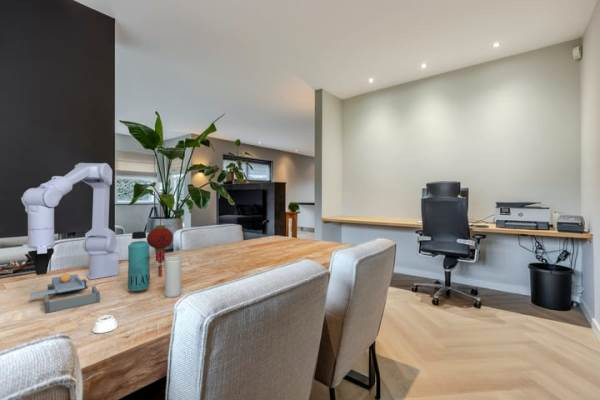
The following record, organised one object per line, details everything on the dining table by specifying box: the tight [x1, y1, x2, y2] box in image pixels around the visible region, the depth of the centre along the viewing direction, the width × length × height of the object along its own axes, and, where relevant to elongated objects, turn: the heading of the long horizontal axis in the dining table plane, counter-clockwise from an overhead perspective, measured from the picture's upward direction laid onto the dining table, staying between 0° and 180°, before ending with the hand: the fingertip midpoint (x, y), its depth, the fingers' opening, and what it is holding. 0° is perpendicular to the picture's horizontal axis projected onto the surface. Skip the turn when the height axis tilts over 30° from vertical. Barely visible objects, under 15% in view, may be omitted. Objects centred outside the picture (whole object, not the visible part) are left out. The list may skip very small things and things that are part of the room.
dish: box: [43, 285, 101, 314], centre depth 83 cm, size 12×9×3 cm
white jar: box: [91, 314, 119, 334], centre depth 67 cm, size 5×3×5 cm
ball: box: [59, 273, 72, 282], centre depth 98 cm, size 3×3×3 cm
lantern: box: [146, 200, 174, 278], centre depth 110 cm, size 10×10×30 cm
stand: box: [47, 278, 89, 297], centre depth 93 cm, size 10×4×3 cm, turn 134°
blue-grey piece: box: [29, 273, 84, 298], centre depth 91 cm, size 13×18×3 cm
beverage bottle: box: [127, 231, 151, 292], centre depth 93 cm, size 6×7×20 cm
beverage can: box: [164, 256, 182, 299], centre depth 90 cm, size 5×5×12 cm
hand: (41, 274), depth 83 cm, fingers closed
